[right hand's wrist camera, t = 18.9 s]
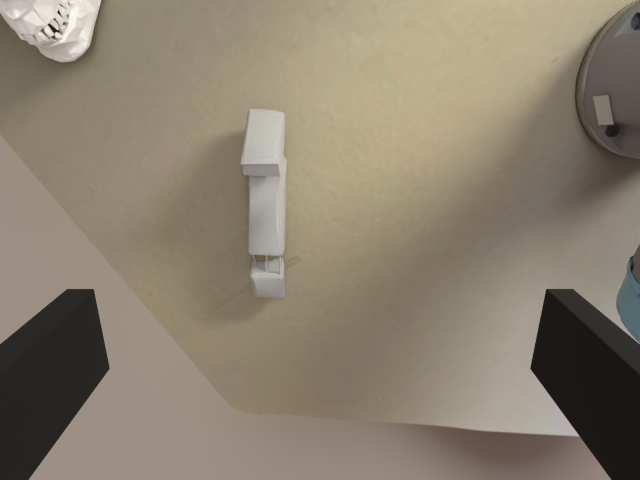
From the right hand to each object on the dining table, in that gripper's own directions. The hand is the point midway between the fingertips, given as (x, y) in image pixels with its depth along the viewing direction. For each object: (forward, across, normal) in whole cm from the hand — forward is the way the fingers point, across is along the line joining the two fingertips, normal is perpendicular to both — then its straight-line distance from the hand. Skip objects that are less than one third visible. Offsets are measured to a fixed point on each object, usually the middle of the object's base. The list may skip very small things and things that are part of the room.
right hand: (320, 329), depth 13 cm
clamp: (+34, -5, -6) cm, 35 cm away
